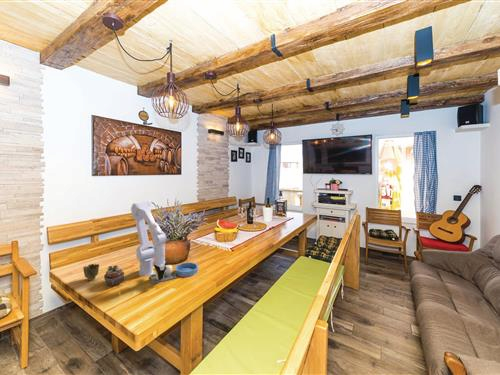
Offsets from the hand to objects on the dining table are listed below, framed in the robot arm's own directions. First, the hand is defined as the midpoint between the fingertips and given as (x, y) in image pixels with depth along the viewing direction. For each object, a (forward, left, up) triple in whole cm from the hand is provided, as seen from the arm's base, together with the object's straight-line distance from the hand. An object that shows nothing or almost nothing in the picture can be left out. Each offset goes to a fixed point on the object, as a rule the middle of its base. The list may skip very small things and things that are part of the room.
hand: (159, 277), depth 128 cm
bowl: (-3, +17, -2) cm, 17 cm away
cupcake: (-9, -22, -2) cm, 24 cm away
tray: (-2, +2, -2) cm, 3 cm away
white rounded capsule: (0, 0, -2) cm, 2 cm away
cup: (-20, -33, -2) cm, 39 cm away
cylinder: (-3, +6, -2) cm, 7 cm away
